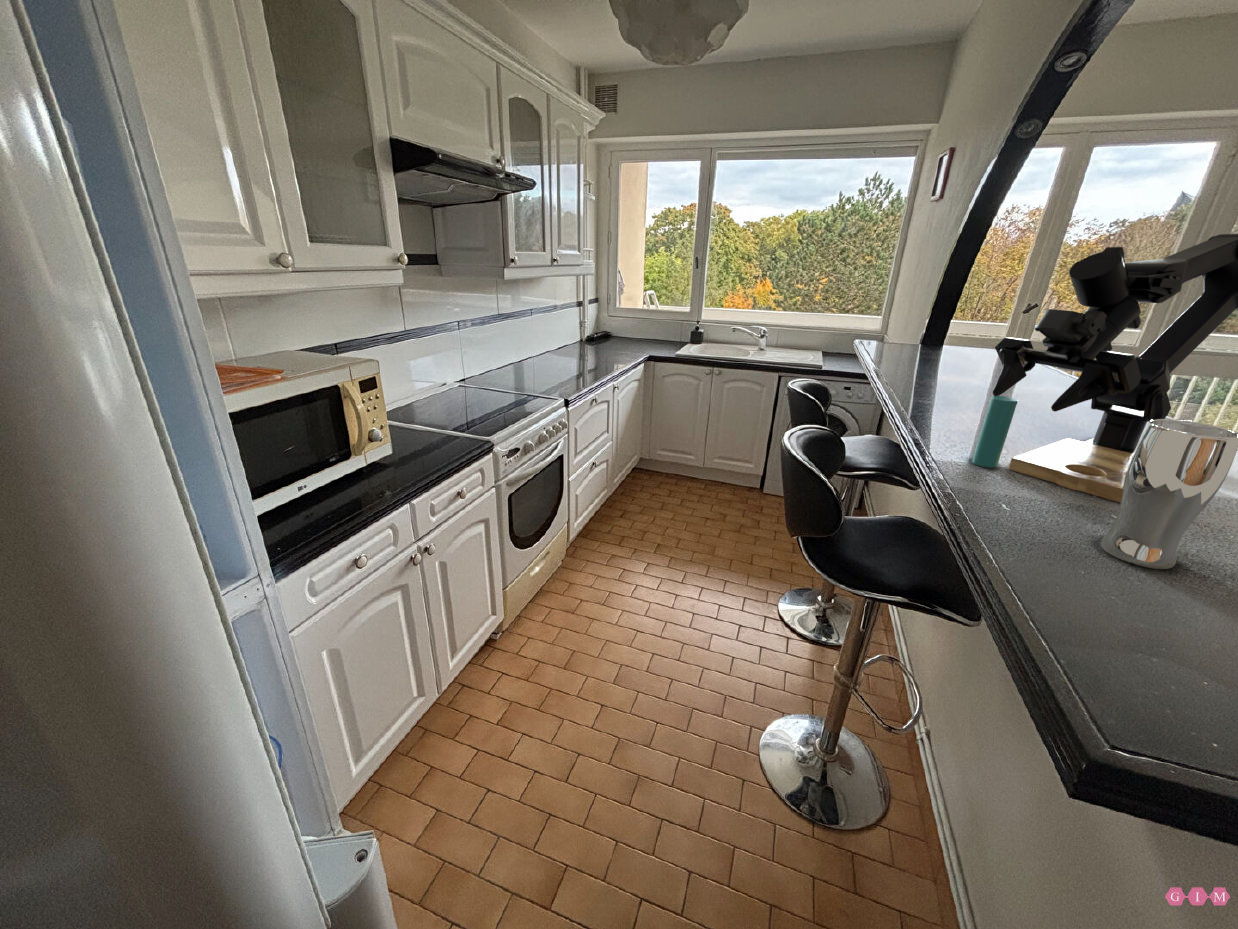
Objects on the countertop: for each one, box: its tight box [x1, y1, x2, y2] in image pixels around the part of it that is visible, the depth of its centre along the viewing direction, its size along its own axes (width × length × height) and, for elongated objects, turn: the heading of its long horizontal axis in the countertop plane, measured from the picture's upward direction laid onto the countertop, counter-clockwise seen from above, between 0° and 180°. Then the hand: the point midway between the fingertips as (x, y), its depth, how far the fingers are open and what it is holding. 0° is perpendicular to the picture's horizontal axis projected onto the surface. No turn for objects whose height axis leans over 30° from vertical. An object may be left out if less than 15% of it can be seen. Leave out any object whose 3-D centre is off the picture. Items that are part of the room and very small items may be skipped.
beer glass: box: [1100, 418, 1238, 570], centre depth 54 cm, size 7×7×15 cm
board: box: [1008, 438, 1133, 504], centre depth 79 cm, size 20×14×2 cm
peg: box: [971, 395, 1019, 469], centre depth 80 cm, size 3×3×11 cm
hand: (1022, 401), depth 80 cm, fingers open, 9 cm apart
